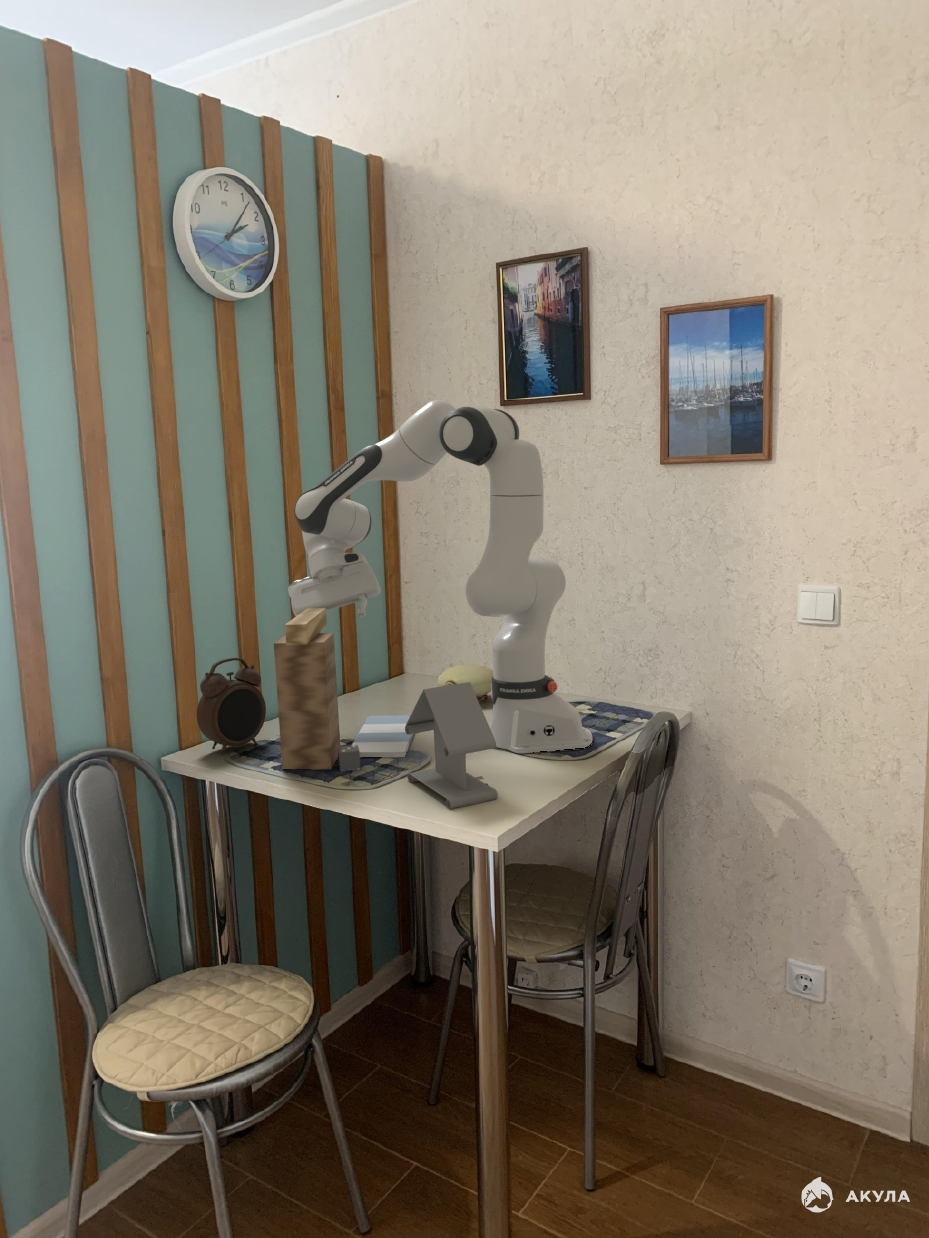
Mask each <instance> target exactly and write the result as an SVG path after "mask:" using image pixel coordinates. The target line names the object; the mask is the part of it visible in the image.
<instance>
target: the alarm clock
mask: <svg viewBox="0 0 929 1238" xmlns="http://www.w3.org/2000/svg"><path fill="white" fill-rule="evenodd" d="M233 661H234V662H235V661H238V662H239V661H240V662H241V664H242V665H243V667H242V668H240V669H238V670H237V672H235V673H234V671H229V672H227V673H226V676H227V677H229V678H226V677H225V676H224V675H223V674H221V673H220V672H215V671H216V668H217V667H218V666H220V665H222V664H224V663H227V662H228V663H229V662H233ZM204 676H205V677H203V679H201V682H200V684H199V689H200V692H201V694H202V695H201V697H200V699H199V701H198V704H197V707H196V709H197V710H196V719H197V720H196V722H197V725H198V728H199V729H200V732H201V733H202V735H204V737H205V738H207V739H208V740H210V741H213V744H212V745H213V746H212V748H211V749H212V750H215V749H216V747H217V745H220V746H221V750H220V752H219V754H220V755H223V754H224V752H225V750H226V748H227V747H242V746H245V745H247V744H248V743H250V742H253V743H254V745H255V744H257V745H258V744H259V743H258V742H257V741H256V737H257V736H258V735H259V733H260V732H261V730H262V729H263V726H264V723H265V720H266V715H267V714H266V713H267V707H266V706H267V705H266V701H265V698H264V695H263V693H262V692H261V691H260V690H259V689H258V688H260V687H261V681H262V677H261V674H260V673H259V672H258V671H257V670H255V664H251V665H248V663H247V662H246V660H244V659H243V658H241V657H229V658H224V659H221V660H220V659H219V660H218V661H216V662H214V663H213V664H212V665H211V668H210V671H209V672H205V674H204ZM232 676H233V679H232Z"/></svg>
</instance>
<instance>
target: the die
mask: <svg viewBox="0 0 929 1238" xmlns="http://www.w3.org/2000/svg"><path fill="white" fill-rule="evenodd" d="M338 756H339V758H338V767H339V766H340V767H339V771H340V770H348V769H357V768H361V758H360V751H359V748H358V745H353V746H351V745H344V746H342V745H341V746H340V747H338Z"/></svg>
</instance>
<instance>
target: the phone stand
mask: <svg viewBox="0 0 929 1238" xmlns="http://www.w3.org/2000/svg"><path fill="white" fill-rule="evenodd" d="M410 715H411V716H410V718H409V720H408V722H407V724H406V726H405V732H406V734H407V735H409V734H419V733H424V732H425V733H426V732H430V731H431V732H432V731H433V737H434V738H433V740H434V762H435V763H434V764H435V768H430V769H424V770H421V771H415V772H409V773H407V781H408V783H410V784H413V783H417V782H421V784H423V785H425V786H426V787H428V788H430V789H431V790H432V791H434V792H435V793H437V794H439V795H440V796H442V797H443V798H444V799H446V800H445V806H446V808H447V809H449V810H453V809H457V808H462V807H467V806H471V805H474V804H480V803H484V802H488V801H493V800H497V799H498V791H497V790H496V788H494V787H492V786H490V785H488V784H487V783H485V782H483V781H481V780H480V779H479V778H476V776H473V775H471V774H470V773H468V772H467V759H466V758H467V757H466V755H467V754H472V753H477V752H482V751H487V750H492V749H495V748H497V747H496V741H495V739H494V736H493V734H492V732H491V726H490V725H489V722H488V720H487V719H486V716H485V713H484V711H483V708H482V706H481V704H480V702H478V697H476V695H475V693H474V690H473V688H472V686H471V683H470V682H467V683H461V684H454V685H448V686H442V687H438V686H437V687H431V688H430V687H429V688H424V689H423V690H422V692H421V694H420V696H419V698H418V700H417V701H416V704H415V705H414V708H413V710H412V712H411V714H410Z"/></svg>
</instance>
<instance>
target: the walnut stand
mask: <svg viewBox="0 0 929 1238" xmlns="http://www.w3.org/2000/svg"><path fill="white" fill-rule="evenodd" d="M273 651H274V667H275V668H274V669H275V681H276V696H277V710H278V723H279V724H278V725H279V726H278V727H279V740H280V753H281V767H282V770H283V769H292V770H291V771H293V769H294V770H295V769H311V770H327V769H326V768H332V766H333V764H334V763H335V761H336V760H337V761H338V759H339V758H338V757H339V756H338V747H341V733H340V732H341V731H340V717H339V701H338V685H337V684H338V683H337V667H336V666H337V664H336V651H335V634H334V632H323V633H322V632H320V633H319V634H318V635H317V636H316V637H314V638H313V639H312V640H311V641H310V642H309V643H308V644H307V645H286V635H285V634H284V635H282V636H281V637H280V638H279V639H277V640H276V641H274V643H273ZM337 758H338V759H337ZM337 761H336V762H337ZM335 764H336V763H335ZM335 764H334V765H335ZM333 767H334V766H333ZM323 768H324V769H323ZM332 769H333V768H332Z"/></svg>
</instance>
